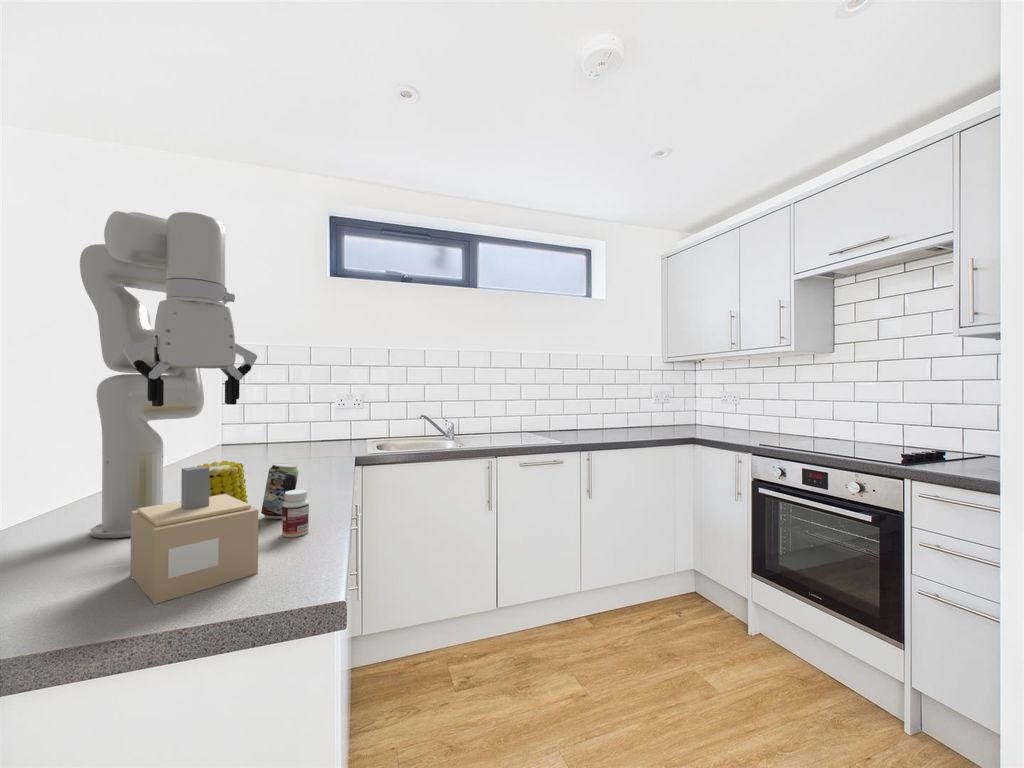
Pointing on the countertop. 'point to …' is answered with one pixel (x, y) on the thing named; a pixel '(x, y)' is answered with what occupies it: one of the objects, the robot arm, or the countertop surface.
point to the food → (227, 479)
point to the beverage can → (278, 488)
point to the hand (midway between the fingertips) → (196, 405)
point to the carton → (193, 553)
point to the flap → (193, 501)
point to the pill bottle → (295, 513)
